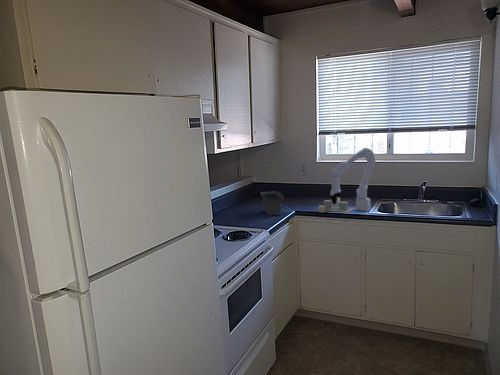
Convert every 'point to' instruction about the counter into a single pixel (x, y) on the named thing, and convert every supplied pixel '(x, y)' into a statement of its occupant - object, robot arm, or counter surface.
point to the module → (336, 202)
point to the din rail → (342, 208)
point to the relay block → (321, 208)
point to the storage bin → (272, 202)
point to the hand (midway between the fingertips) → (335, 203)
